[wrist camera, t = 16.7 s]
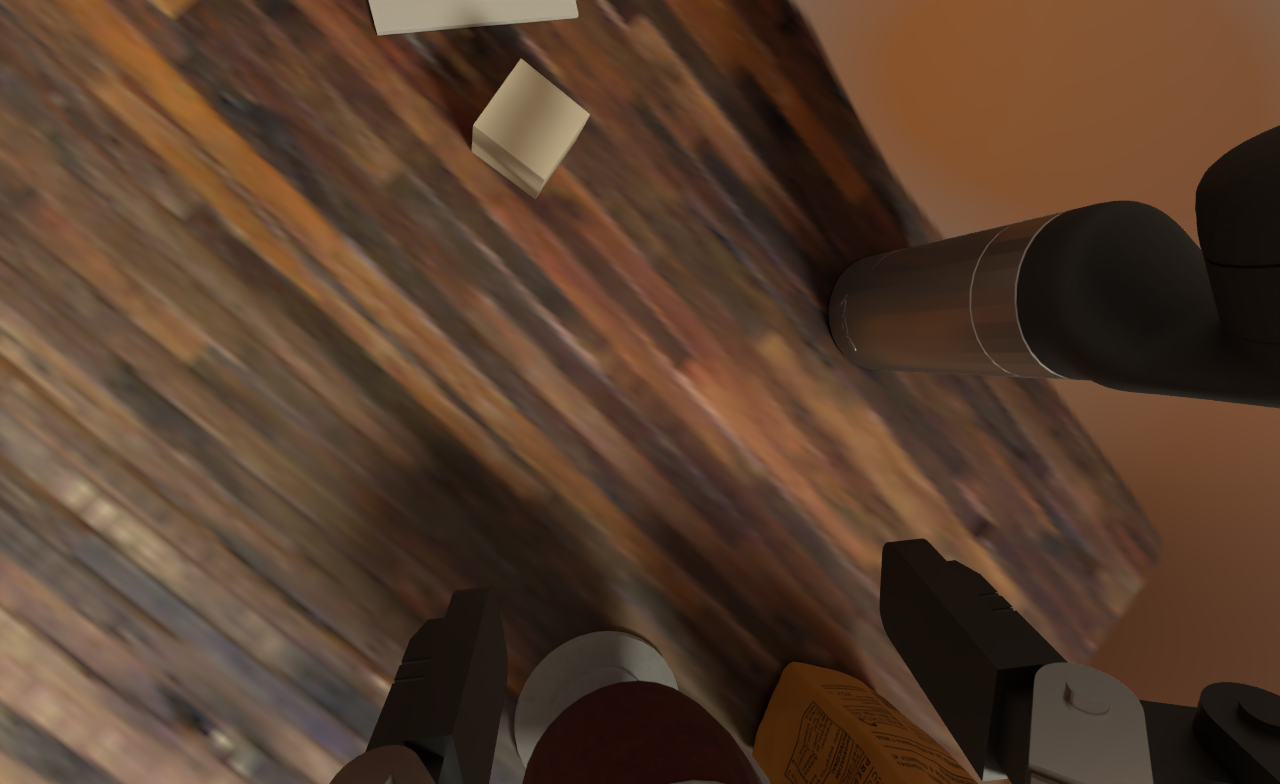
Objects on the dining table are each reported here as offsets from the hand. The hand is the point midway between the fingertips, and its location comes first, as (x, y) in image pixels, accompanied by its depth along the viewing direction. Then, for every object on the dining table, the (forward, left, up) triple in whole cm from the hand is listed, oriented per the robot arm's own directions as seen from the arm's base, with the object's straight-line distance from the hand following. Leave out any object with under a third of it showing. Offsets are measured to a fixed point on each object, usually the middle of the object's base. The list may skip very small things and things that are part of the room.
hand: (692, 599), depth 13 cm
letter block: (-4, -18, -32) cm, 37 cm away
